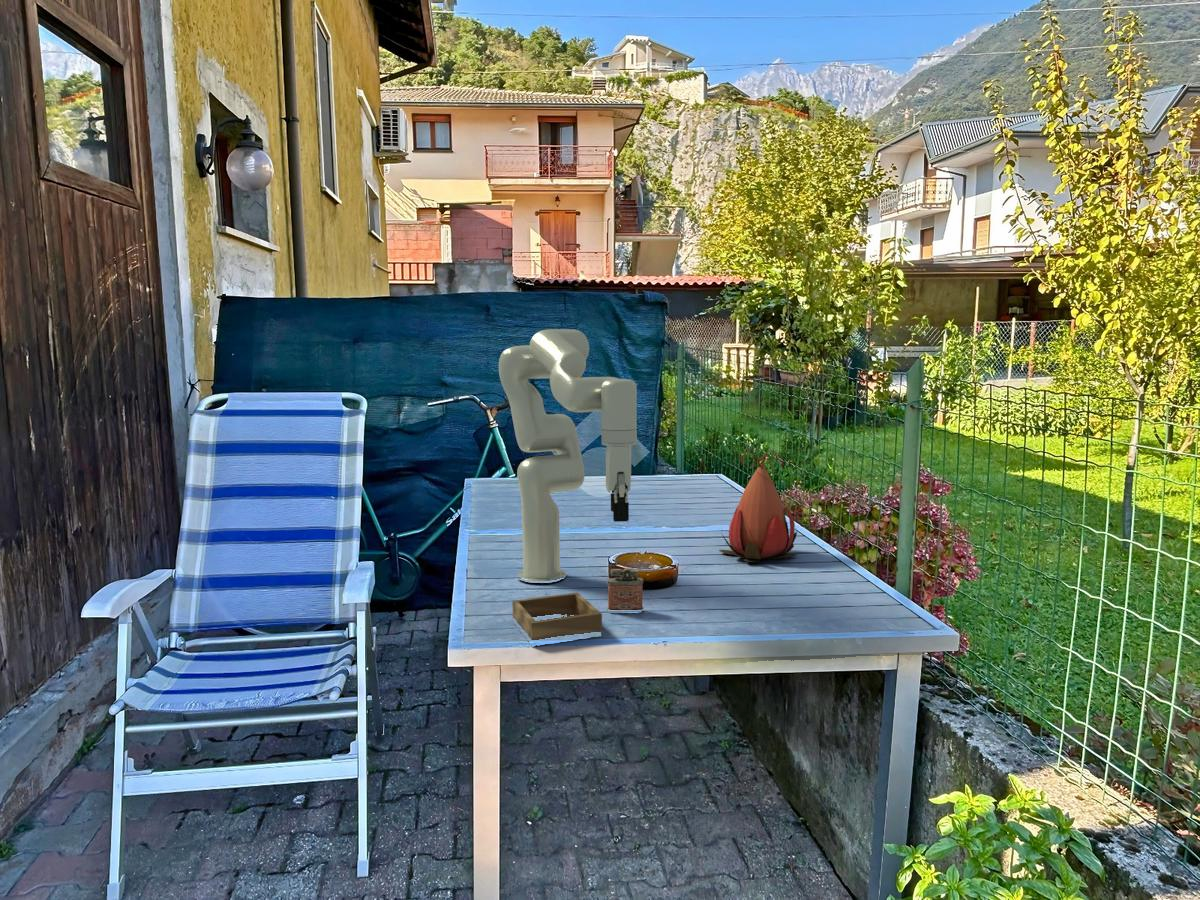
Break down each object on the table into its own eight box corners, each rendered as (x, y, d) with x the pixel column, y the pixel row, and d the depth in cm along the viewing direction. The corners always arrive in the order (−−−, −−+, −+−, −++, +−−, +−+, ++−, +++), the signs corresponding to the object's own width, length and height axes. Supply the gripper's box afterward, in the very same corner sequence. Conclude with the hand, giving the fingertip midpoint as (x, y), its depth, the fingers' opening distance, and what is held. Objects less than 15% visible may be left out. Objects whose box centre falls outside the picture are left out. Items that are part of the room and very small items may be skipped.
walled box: (512, 622, 174) (512, 600, 173) (577, 614, 179) (577, 592, 178) (532, 647, 160) (531, 623, 159) (602, 636, 165) (601, 613, 164)
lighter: (642, 608, 182) (642, 566, 181) (643, 613, 179) (643, 570, 177) (607, 609, 182) (607, 566, 181) (607, 614, 179) (607, 571, 177)
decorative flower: (798, 548, 233) (801, 447, 229) (795, 571, 211) (798, 458, 207) (723, 544, 239) (724, 445, 234) (712, 565, 217) (713, 456, 212)
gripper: (599, 432, 178) (600, 508, 181) (603, 442, 161) (603, 525, 163) (633, 432, 178) (633, 507, 181) (640, 442, 161) (640, 525, 164)
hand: (619, 516), depth 172 cm, fingers open, 9 cm apart
